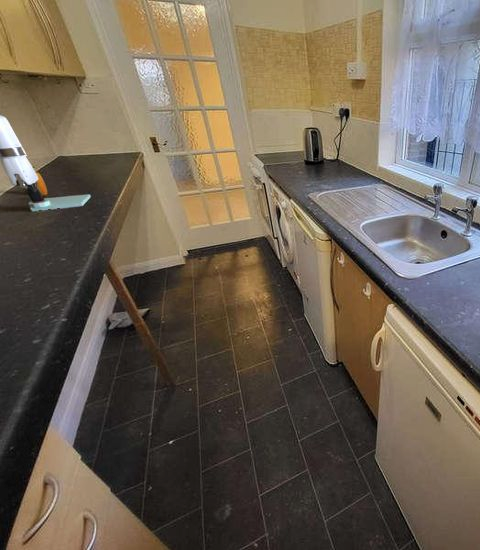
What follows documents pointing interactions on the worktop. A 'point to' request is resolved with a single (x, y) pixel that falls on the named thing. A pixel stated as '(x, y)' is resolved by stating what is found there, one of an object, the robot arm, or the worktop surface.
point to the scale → (60, 202)
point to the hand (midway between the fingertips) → (38, 201)
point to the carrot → (41, 184)
